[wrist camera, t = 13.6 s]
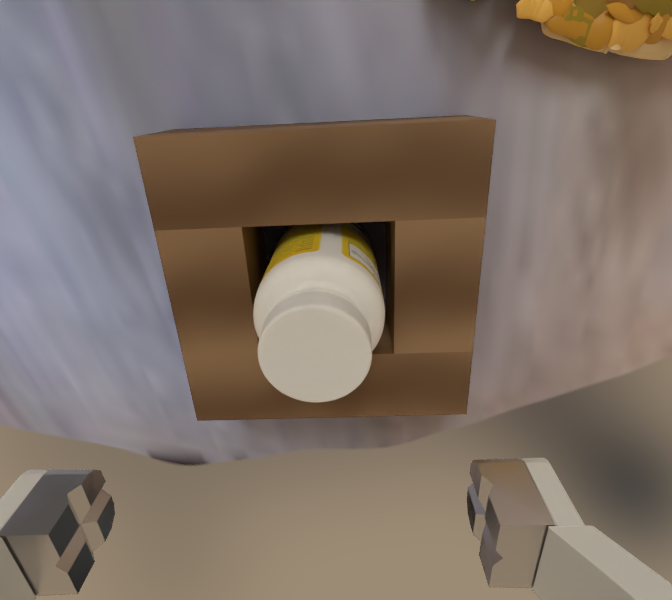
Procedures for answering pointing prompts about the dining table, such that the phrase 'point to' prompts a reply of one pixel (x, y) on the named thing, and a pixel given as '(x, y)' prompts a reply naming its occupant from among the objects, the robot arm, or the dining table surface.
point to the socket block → (324, 208)
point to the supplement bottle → (319, 311)
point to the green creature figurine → (606, 24)
